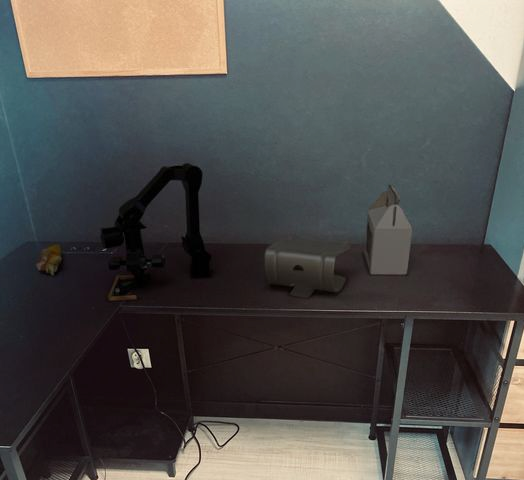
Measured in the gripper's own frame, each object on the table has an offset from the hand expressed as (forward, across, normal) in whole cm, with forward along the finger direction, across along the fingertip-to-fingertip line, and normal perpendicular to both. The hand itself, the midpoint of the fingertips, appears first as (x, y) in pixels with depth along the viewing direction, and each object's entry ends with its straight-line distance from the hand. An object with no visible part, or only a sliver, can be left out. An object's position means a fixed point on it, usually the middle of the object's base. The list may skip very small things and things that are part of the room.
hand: (140, 284), depth 189 cm
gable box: (+2, +91, +12) cm, 92 cm away
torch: (+1, -37, +26) cm, 45 cm away
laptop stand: (+2, +59, -4) cm, 59 cm away
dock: (+1, -5, 0) cm, 5 cm away
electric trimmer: (+1, -3, +1) cm, 4 cm away
